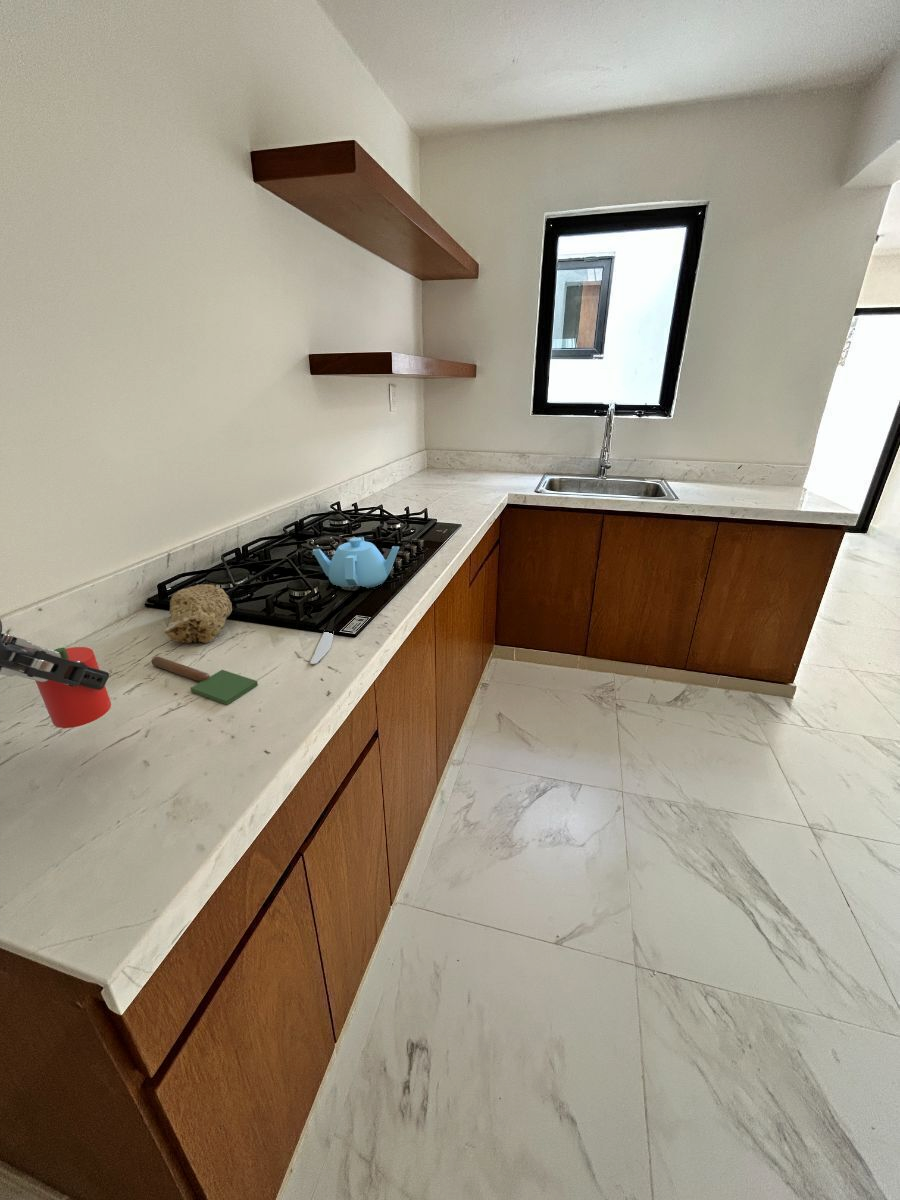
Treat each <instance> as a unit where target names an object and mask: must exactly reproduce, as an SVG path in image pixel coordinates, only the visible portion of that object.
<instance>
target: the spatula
mask: <svg viewBox="0 0 900 1200" xmlns="http://www.w3.org/2000/svg"><path fill="white" fill-rule="evenodd" d="M150 662H151V664H152V666H154V667H156V668H160V669H163V670H164V671H165V670H166V671H168V672H171V673H174V674H177V675H180V676H183V677H186V678H188V679H191V680H194V681H196V682H198V683H196V684H195V685H193V686H191V687H190V688H189V689H190V693H192V694H196V695H198V696H201V697H203V698H205V699H209V700H211V701H213V702H214V701H215V702H217V703H219V704H222V705H225V706H229V704H231V703H233V702H234V701H236V700H238V699H239V698H241V697H242V696H243V695H245V694H246V693H248V692H250V691H251V690H253V689H254V688H255V687H257V686H258V685H259V684H258V681H257V680H256V679H252V678H250V677H246V676H243V675H239V674H237V673H234V672H230V671H228V670H224V669H221V670H219V671H217V672H215V673H214V674H212V675H210V674H209V673H208V672H205V671H202V670H199V669H196V668H193V667H191V666H187V665H185V664H182V663H178V662H176V661H173V660H169V659H166V658H165V657H164V658H163V657H161V656H154V657H152V659H151V661H150Z"/></svg>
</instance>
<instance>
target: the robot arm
mask: <svg viewBox="0 0 900 1200" xmlns="http://www.w3.org/2000/svg"><path fill="white" fill-rule="evenodd" d="M2 632H3V623H2V620H1V619H0V675H3V676H7V677H14V676H18V677H19V678H20V677H21V678H24V679H29V680H31V681H32V680H33V681H35V680H36V681H40V682H46V681H47V680H52V681H56V682H60V683H63V684H66V685H68V686H71V687H74V686H77V687H78V685H80V686H84V687H89V688H93V689H97V690H101V689H103V688H104V686H105V687H106V684H107V681H108V679H109V678H110V672H108V671H105V670H101V669H99V670H98V669H95V668H91V667H88V665H85V663H83V662H79V661H75V662H74V661H71V660H67V659H64V658H61V655H60V653H59V652H56V651H54V649H53V650H52V649H49V648H46V647H42V646H39V645H36V644H33V643H32V642H31V641H30V640H27V639H24V638H22V637H21V638H20V637H18V636H14V635H10V634H6V633H2ZM36 681H35V682H36Z"/></svg>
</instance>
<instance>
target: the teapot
mask: <svg viewBox="0 0 900 1200" xmlns="http://www.w3.org/2000/svg"><path fill="white" fill-rule="evenodd" d="M399 549H400V546H397V545H396V546H395V545H393V546H392V547H391V550H390V552H389V553H388V556H387V558H386V559H385V557H384V556H383V554H382V553H381V552H380V550H379V549H378V548H377V546H376V545H375V544H374V543H372V542H369V541H365V537H364V536H359V537H351V538H349V539H348V542H345V543H342V544H340V545H339V546H338V547H337V548H336V549H335V552H334V553H333V555H332V557H331V559H329V558H328V556H327V555H326V554H325V553H324V552H323V551H322V550H321V548H314V549H312V554H313V555H314V556H315V558H316V560H317V562H318V564H319V566H320V568H321V569H322V571H323V573H324V574H325V576H326V577H328V580H329V582H330V583H331V585H333V586H334V585H336V586H340V587H353V586H362V587H366V588H369V587H375V586H378V585H380V584H381V585H383V584H384V582H385V581H386V580H387V579H388V577H389V575H390V573H391V571H392V568H393V565H394V563H395V560H396V557H397V555H398V552H399ZM381 585H380V586H381Z"/></svg>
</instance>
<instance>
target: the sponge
mask: <svg viewBox="0 0 900 1200" xmlns="http://www.w3.org/2000/svg"><path fill="white" fill-rule="evenodd" d="M232 605H233V604H232V601H231V600H230V597H229V595H228V594H227V593H226V591H225V590H224V589H223V588H222V587H220V586H218V585H214V584H207V583H206V584H205V583H203V584H201V583H200V584H196V585H194V586H189V587H184V588H182V589H179V590H177V591H175V593H173V595H171V598H170V601H169V613H170V617H171V619H170V620H169V622H168V623H167V627H166V628H164V629H165V630H164V634H165V636H167V637H168V638H169V639H173V641H174V642H176V643H190V644H191V643H193V642H194V643H197V642H201V643H202V644H208V643H209V642H211V641H213V640H214V639H215V638H216V637H217V636H218V635H219V634H220V633H222V631H223V629H224V628H225V625H226V621H227V619H228V618H229V617H230V615H231V614H232V611H233V608H232V607H233V606H232Z"/></svg>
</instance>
